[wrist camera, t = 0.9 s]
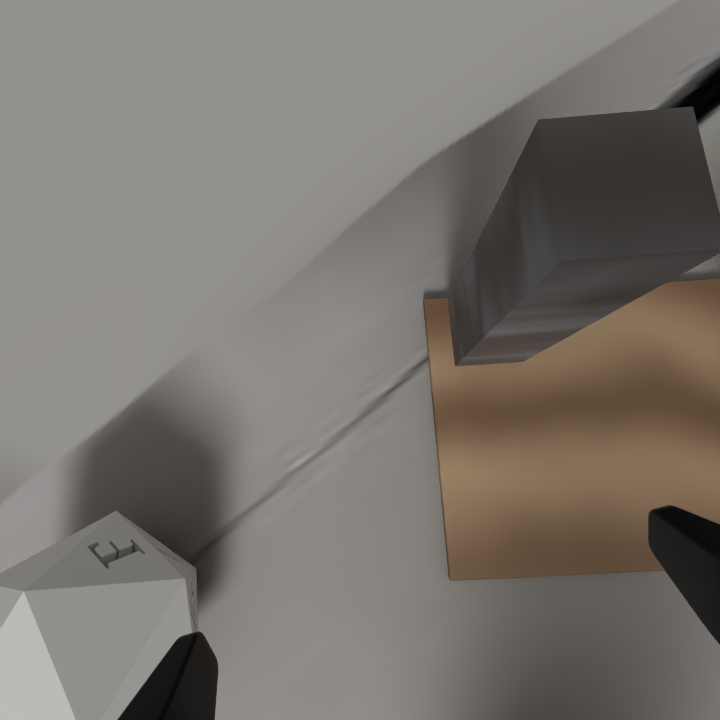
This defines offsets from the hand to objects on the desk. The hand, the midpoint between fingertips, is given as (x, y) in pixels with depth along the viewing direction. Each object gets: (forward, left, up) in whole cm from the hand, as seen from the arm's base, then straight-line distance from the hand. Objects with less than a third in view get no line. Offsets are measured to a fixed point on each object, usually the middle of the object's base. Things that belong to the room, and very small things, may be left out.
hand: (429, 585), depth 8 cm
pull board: (-7, -13, -13) cm, 20 cm away
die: (+5, +13, -13) cm, 19 cm away
